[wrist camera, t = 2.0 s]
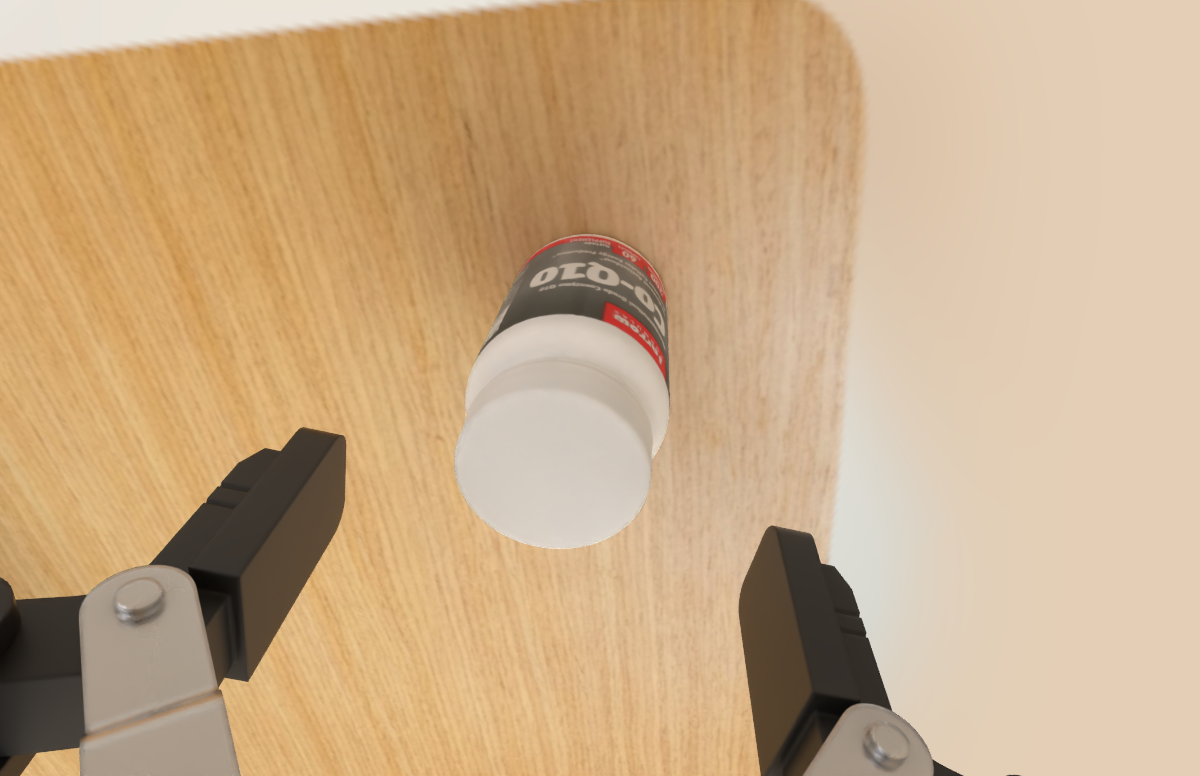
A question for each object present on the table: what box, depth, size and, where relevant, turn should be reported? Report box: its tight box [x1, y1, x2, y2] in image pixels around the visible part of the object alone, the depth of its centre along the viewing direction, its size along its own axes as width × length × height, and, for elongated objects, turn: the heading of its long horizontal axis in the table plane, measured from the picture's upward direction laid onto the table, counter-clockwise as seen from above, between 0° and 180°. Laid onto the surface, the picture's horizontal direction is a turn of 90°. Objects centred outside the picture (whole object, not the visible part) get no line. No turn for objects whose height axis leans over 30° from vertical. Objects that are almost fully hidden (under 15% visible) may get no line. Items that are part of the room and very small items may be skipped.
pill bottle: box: [454, 234, 670, 549], centre depth 17 cm, size 5×5×8 cm
